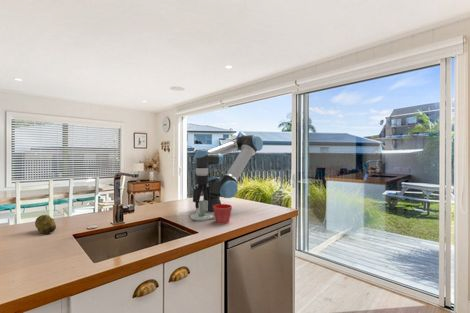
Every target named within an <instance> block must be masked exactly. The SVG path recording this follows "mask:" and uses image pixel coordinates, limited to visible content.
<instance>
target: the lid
mask: <svg viewBox="0 0 470 313" xmlns="http://www.w3.org/2000/svg"><path fill="white" fill-rule="evenodd" d="M199 203H200V213H196V212H195V213H192V214H191V215H189V216H190V217H189V219H190V218H191V219H192V220H197V221H196V222H203V221H204V222H205V220H206V221H211V220H210V219H212V218H213V217H214V214H212V213H210V212H209V213H208V212H206V211H205V201H203V200H199ZM191 219H190V220H191ZM192 220H191V221H192Z"/></svg>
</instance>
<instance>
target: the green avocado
mask: <svg viewBox="0 0 470 313" xmlns="http://www.w3.org/2000/svg"><path fill="white" fill-rule="evenodd" d="M34 226H35V228H36V229H37V231H38V232H39V233H40V232H41V233H40V234H45V233H46V234H51V233H50V232H52V233H53V232H55V230H56V228H57V226H56V221H55V219H54V218H53V217H51V216H50V215H47V214H42V215H39V216H38V217H37V218H36V219H35V222H34Z"/></svg>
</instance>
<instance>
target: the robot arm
mask: <svg viewBox="0 0 470 313" xmlns="http://www.w3.org/2000/svg"><path fill="white" fill-rule="evenodd" d="M263 146H264V143H263V138H262V137H261V135H258V134H251V135H248V134H247V135H241V136H237V137H235V138H231V139H230V140H229V141H228V142H226V143H223V144H221V145H219V146H215V147H212V148H210V149H208V150H207V149H197V150H196V152H195V154H194V156H193V162H194V163H195V174H196V175H195V181H196V184H195V185H192V188H193V191H192V192H193V194H192V202H193V203H195V206H194V207H195V214H196V213H200V203H199V201H201V195H202V196H203V197H202V198H203V199H202V201H205V212H206V213H208V212H209V213H210V212H213V213H214V209H213V206H214V205H217V204H222V202H221V198H224V199H232V198H234V197H235V196H236V195H237V193H238V188H239V185H238V184H239V183H238V180H239V178H240V176H241V175H242V173H243V171H244V169H245V168H246V166H247V165H248V163H249V161H250V159H251V158H252V156H255V155H256V153H257V152H259V151H261V150H263ZM239 151H240V152H239ZM232 152H233V153H237V152H239V153H238V155H237V157H235V160H234V162H233V163H232V164H231V166H230V168H229V169H228V171H227V173H226V174H223V175H222V177H219V176H214V177H213V176H211V177H209V166H215V165H216V166H218V165H222V164H223V162H224V156H225V155H227V154H230V153H232Z"/></svg>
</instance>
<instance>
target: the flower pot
mask: <svg viewBox="0 0 470 313" xmlns="http://www.w3.org/2000/svg"><path fill="white" fill-rule="evenodd" d="M232 208H233V205H231V204H226V203H221V204H217V205H214V206H213V209H214V212H213V216H214V218H215V220H214V221H215V223H216V224H219V225H220V224H221V225H222V224H228V223H230V219H231V214H232V211H233V210H232Z"/></svg>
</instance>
